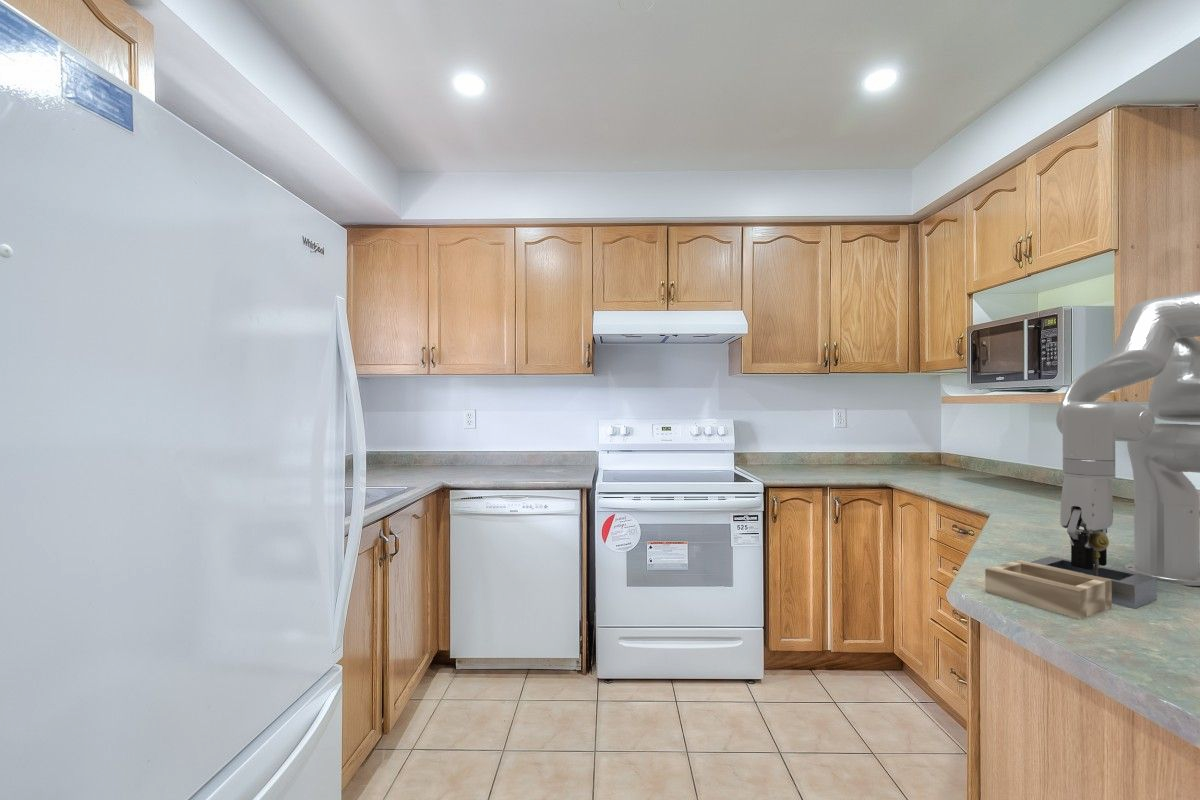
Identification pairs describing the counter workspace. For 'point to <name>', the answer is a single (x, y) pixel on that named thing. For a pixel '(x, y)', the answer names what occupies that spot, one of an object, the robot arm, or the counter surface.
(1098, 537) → the regulator
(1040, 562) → the gray rectangular tray
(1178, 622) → the counter surface
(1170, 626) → the counter surface
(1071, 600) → the socket
